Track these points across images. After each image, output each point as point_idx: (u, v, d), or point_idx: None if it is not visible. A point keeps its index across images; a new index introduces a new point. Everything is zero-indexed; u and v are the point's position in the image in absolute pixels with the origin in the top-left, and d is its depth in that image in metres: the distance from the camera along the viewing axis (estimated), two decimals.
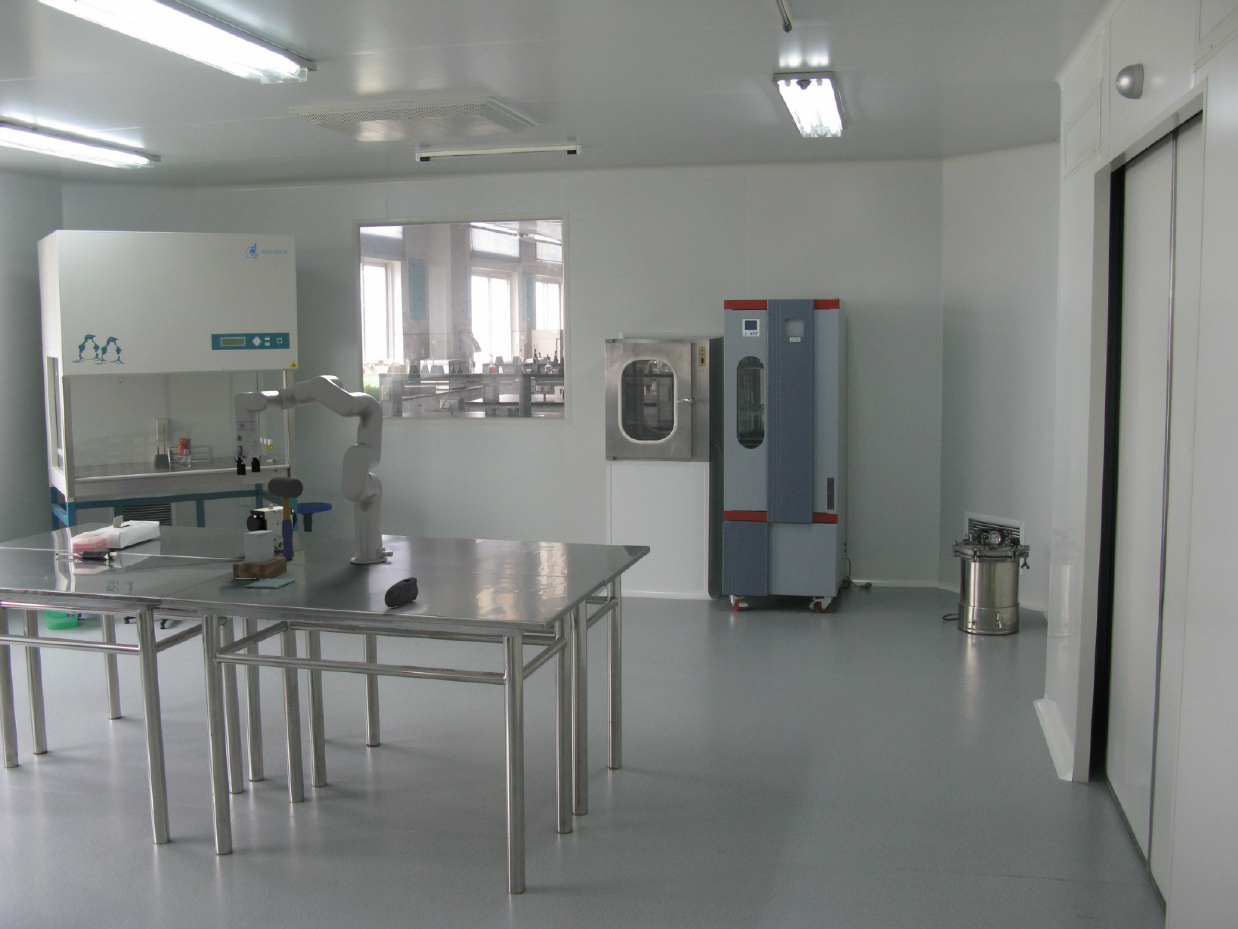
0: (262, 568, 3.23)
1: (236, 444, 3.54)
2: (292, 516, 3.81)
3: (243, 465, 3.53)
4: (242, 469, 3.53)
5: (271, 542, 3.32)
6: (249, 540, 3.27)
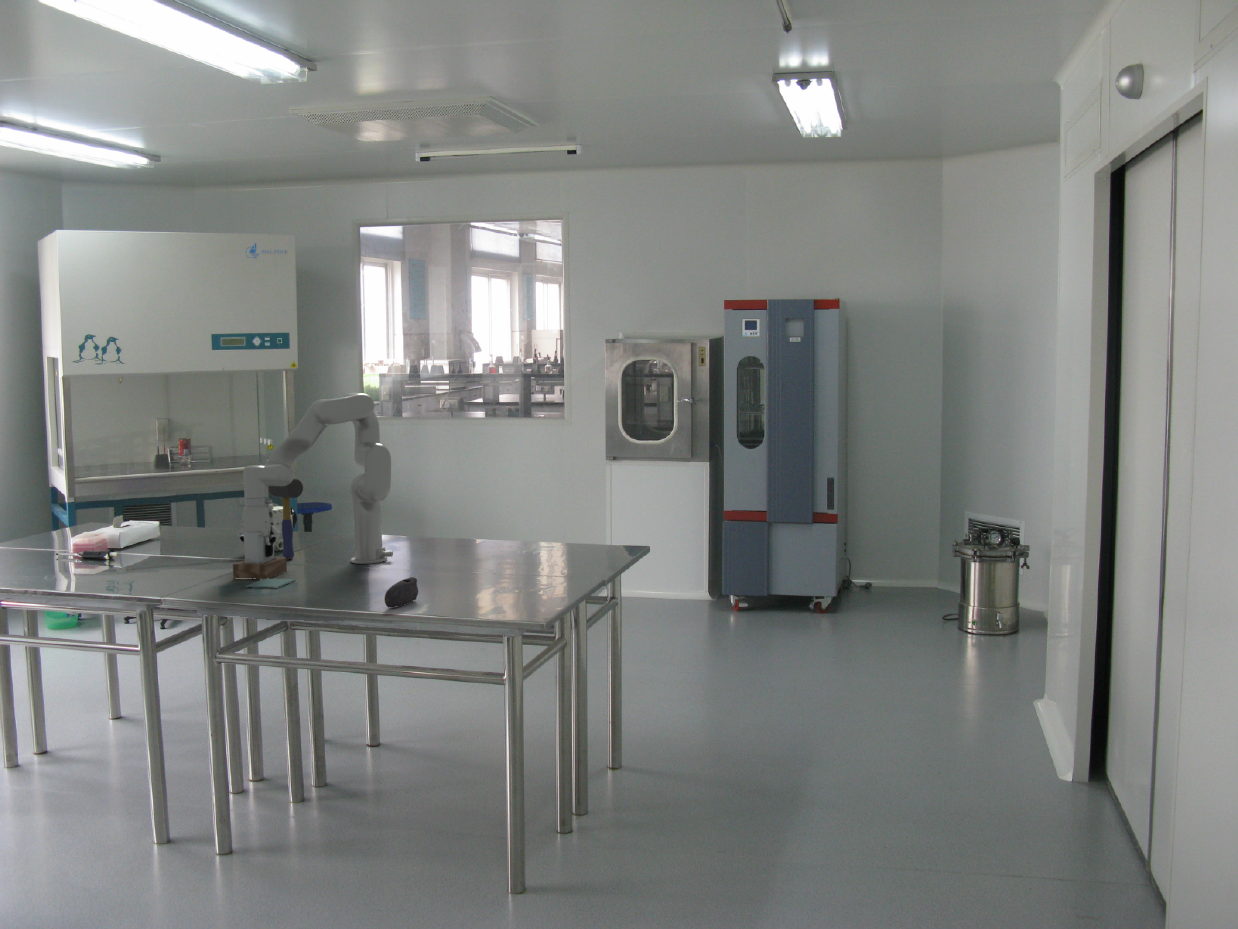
0: (262, 568, 3.23)
1: (268, 522, 3.27)
2: (292, 516, 3.81)
3: None
4: None
5: None
6: (249, 540, 3.27)
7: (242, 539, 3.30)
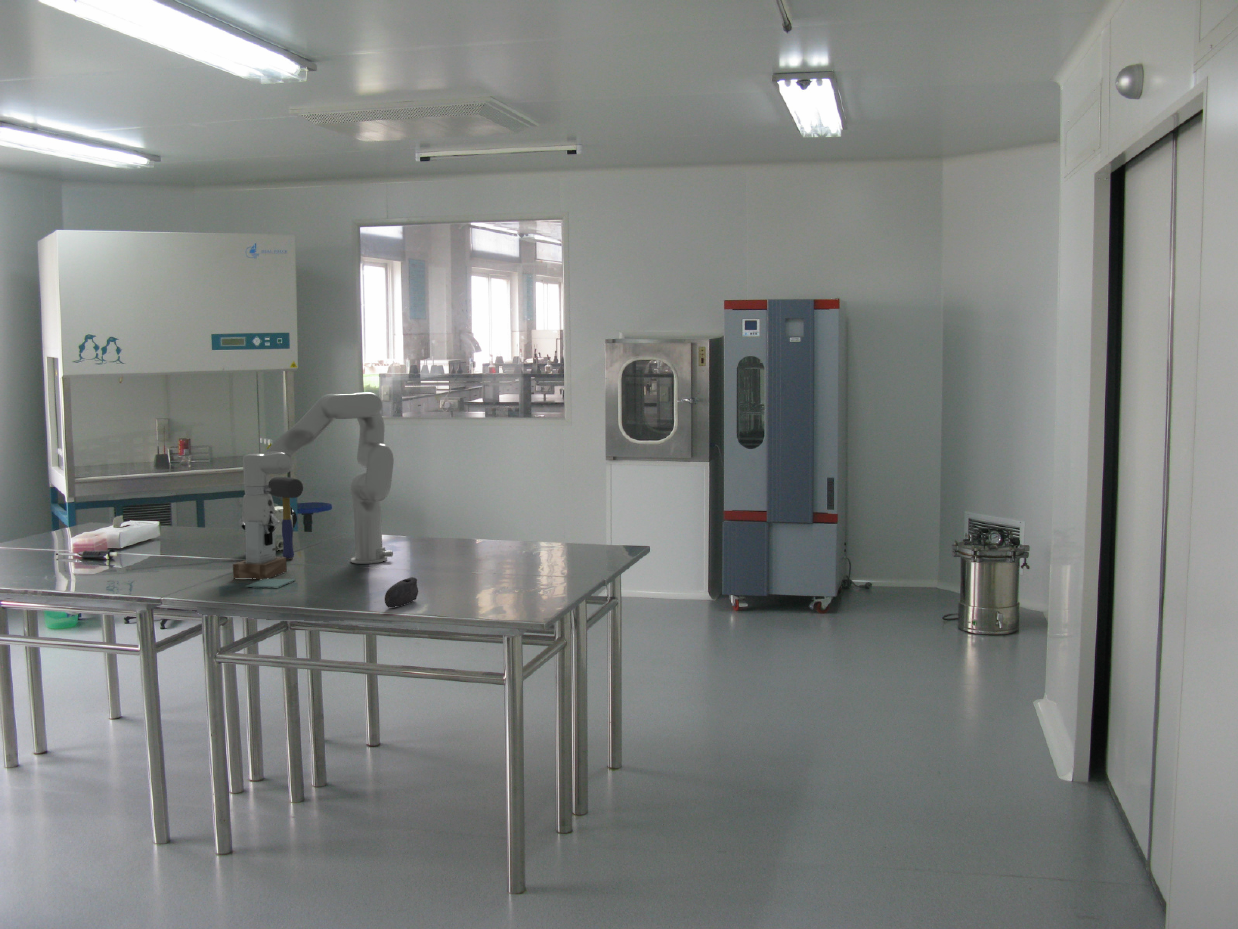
0: (262, 568, 3.23)
1: (267, 510, 3.26)
2: (292, 516, 3.81)
3: None
4: None
5: None
6: (250, 529, 3.27)
7: (244, 527, 3.31)
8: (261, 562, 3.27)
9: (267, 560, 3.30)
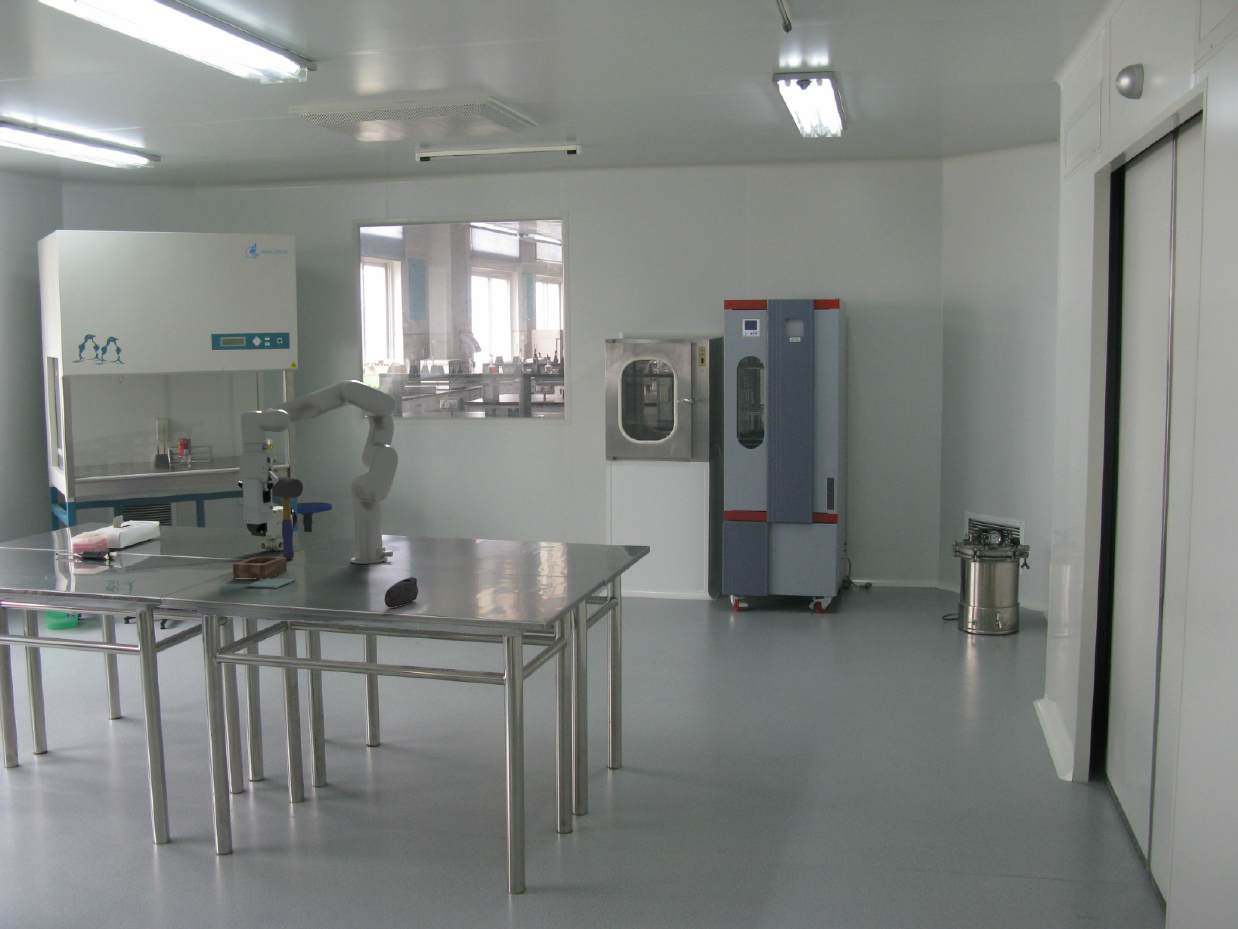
0: (262, 568, 3.23)
1: (266, 467, 3.26)
2: (292, 516, 3.81)
3: None
4: None
5: None
6: (249, 486, 3.25)
7: (240, 485, 3.29)
8: (260, 519, 3.26)
9: (265, 518, 3.29)
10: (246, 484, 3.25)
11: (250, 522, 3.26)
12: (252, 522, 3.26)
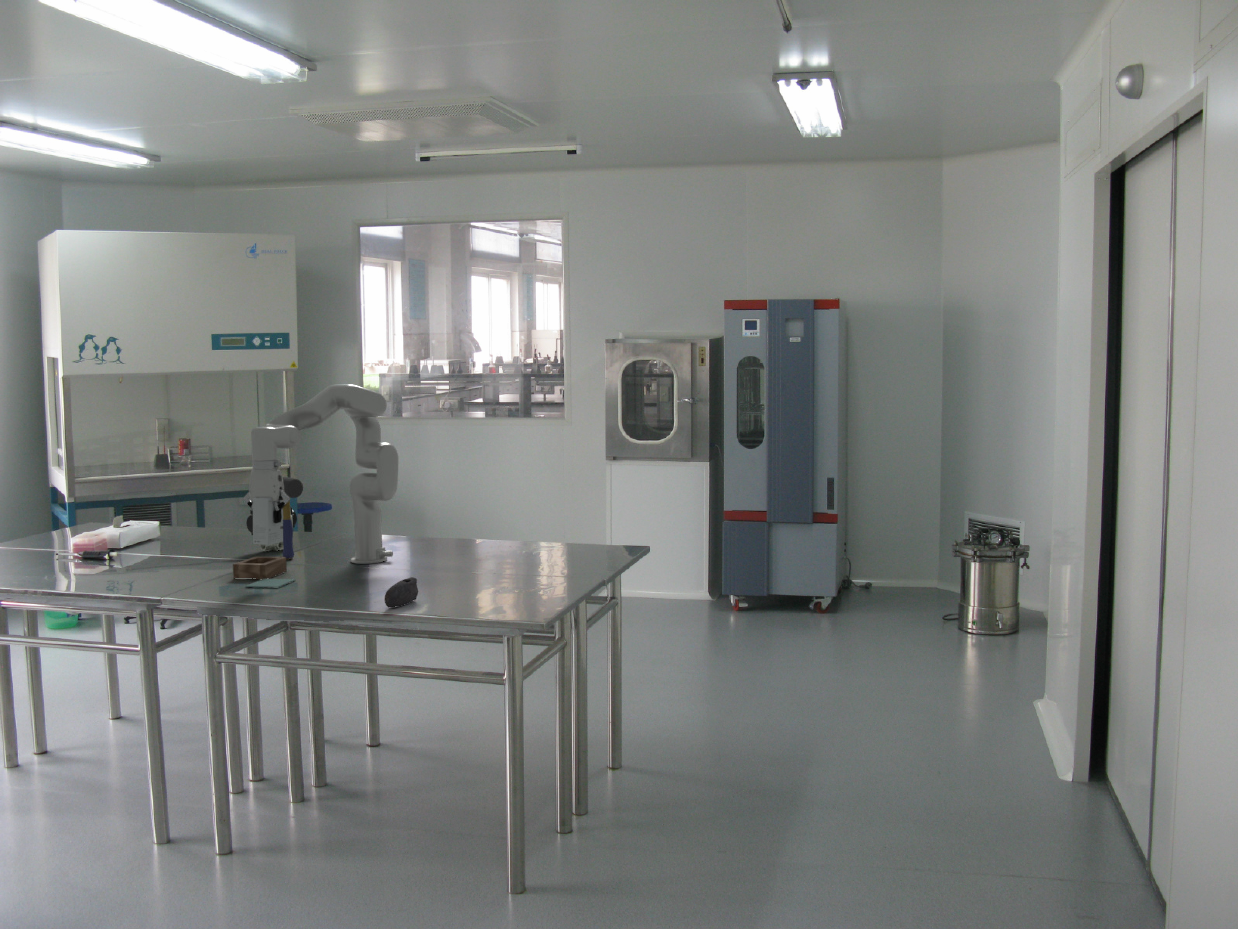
0: (262, 568, 3.23)
1: (277, 486, 3.11)
2: (292, 516, 3.81)
3: None
4: None
5: None
6: (259, 505, 3.11)
7: (250, 504, 3.14)
8: (270, 540, 3.12)
9: (275, 538, 3.14)
10: (256, 503, 3.11)
11: (260, 543, 3.11)
12: (261, 543, 3.11)
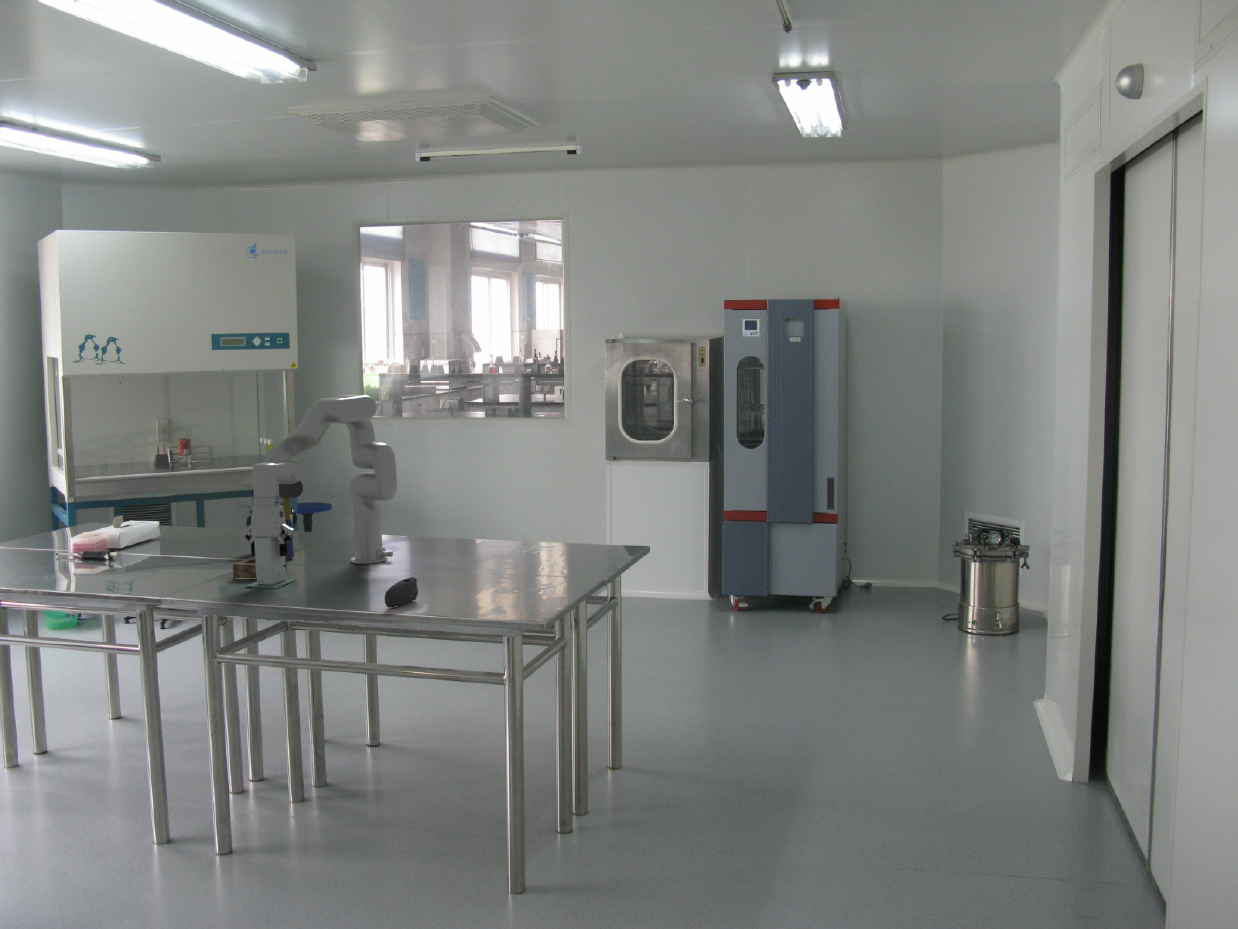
0: None
1: (279, 522, 3.12)
2: (292, 516, 3.81)
3: None
4: None
5: None
6: (261, 545, 3.12)
7: (248, 538, 3.15)
8: (274, 580, 3.13)
9: (279, 577, 3.16)
10: (258, 543, 3.12)
11: (263, 583, 3.13)
12: (265, 583, 3.13)
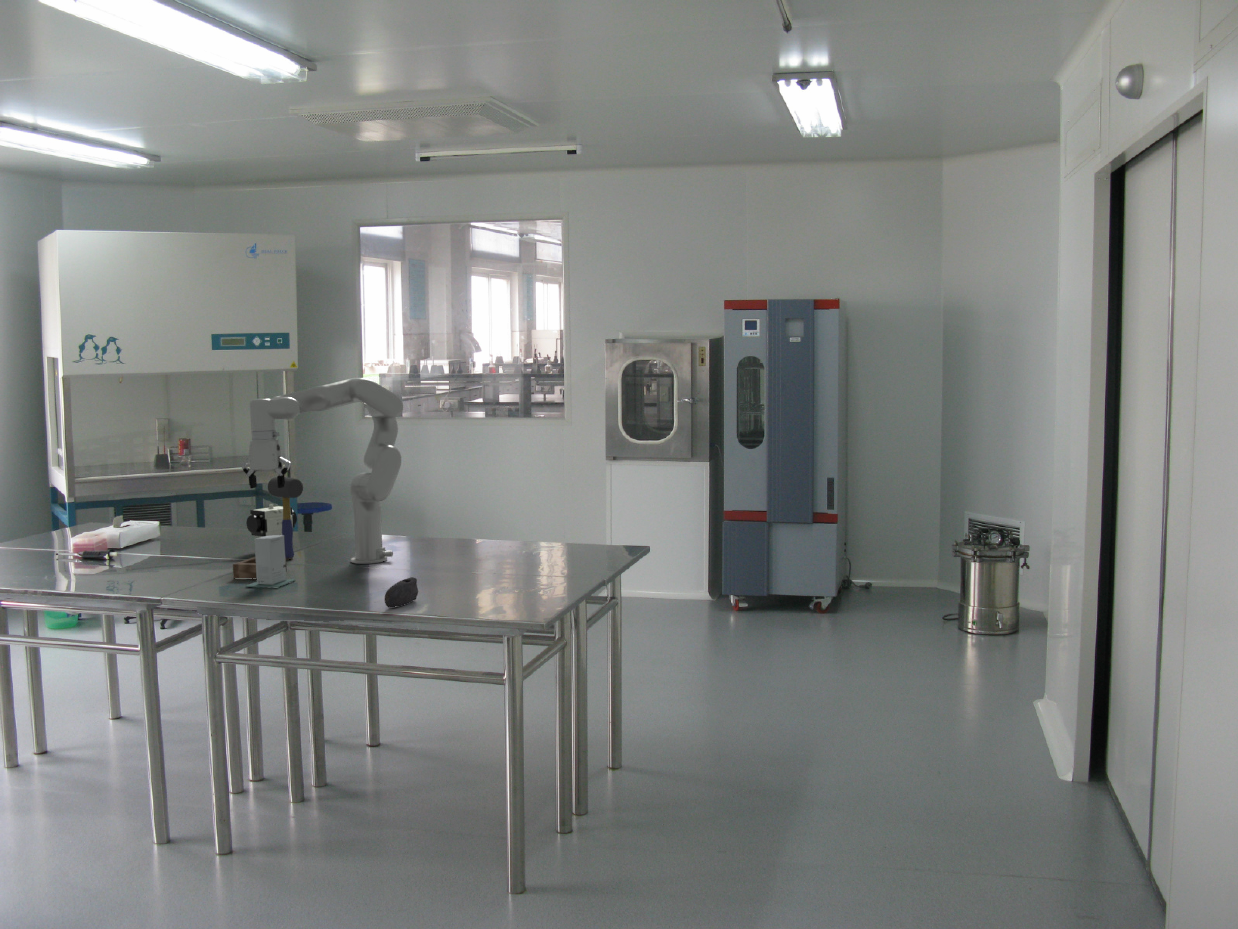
0: None
1: (276, 454, 3.25)
2: (292, 516, 3.81)
3: None
4: None
5: (282, 548, 3.18)
6: (261, 545, 3.12)
7: (245, 471, 3.28)
8: (274, 580, 3.13)
9: (279, 577, 3.16)
10: (258, 543, 3.12)
11: (263, 583, 3.13)
12: (265, 583, 3.13)
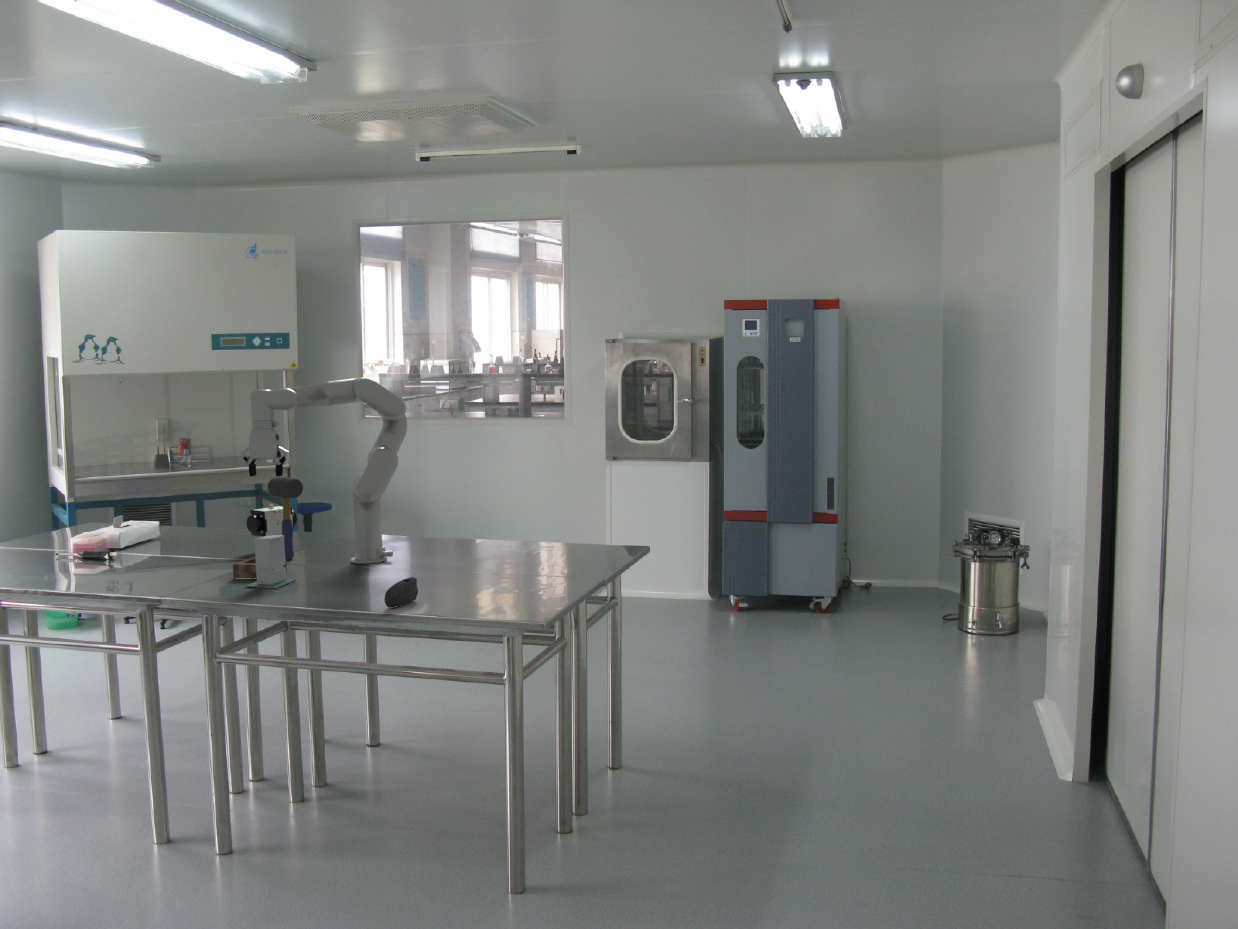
0: None
1: (275, 444, 3.35)
2: (292, 516, 3.81)
3: None
4: None
5: (282, 548, 3.18)
6: (261, 545, 3.12)
7: (245, 459, 3.38)
8: (274, 580, 3.13)
9: (279, 577, 3.16)
10: (258, 543, 3.12)
11: (263, 583, 3.13)
12: (265, 583, 3.13)
